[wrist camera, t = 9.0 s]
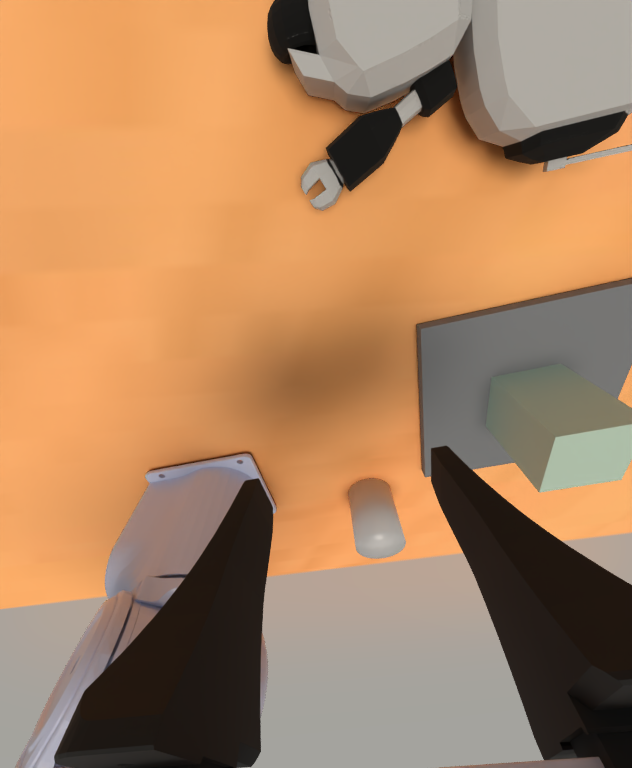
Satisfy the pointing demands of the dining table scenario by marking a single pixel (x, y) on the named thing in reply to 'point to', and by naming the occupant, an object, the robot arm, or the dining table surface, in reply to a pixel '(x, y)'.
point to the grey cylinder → (375, 519)
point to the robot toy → (460, 74)
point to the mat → (515, 361)
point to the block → (560, 427)
